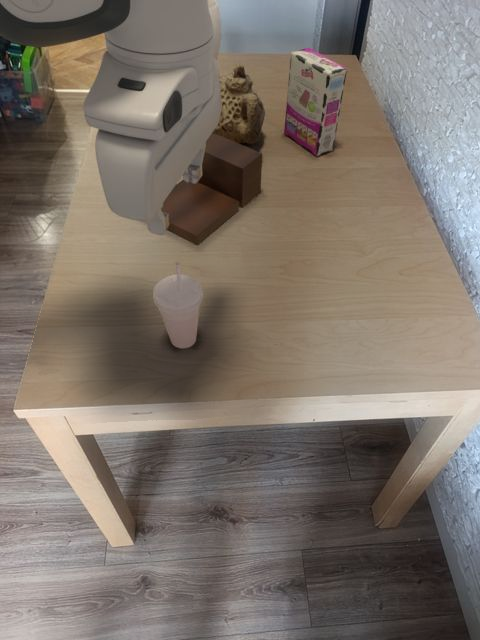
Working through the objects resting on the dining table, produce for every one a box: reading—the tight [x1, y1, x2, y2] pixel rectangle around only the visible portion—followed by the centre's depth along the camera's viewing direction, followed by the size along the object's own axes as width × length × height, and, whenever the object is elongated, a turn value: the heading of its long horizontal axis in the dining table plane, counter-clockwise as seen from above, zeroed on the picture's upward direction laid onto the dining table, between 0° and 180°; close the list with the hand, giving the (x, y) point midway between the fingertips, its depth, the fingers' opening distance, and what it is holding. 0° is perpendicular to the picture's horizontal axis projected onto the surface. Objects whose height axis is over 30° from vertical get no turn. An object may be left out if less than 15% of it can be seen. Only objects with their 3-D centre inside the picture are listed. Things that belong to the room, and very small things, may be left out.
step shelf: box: [161, 132, 263, 246], centre depth 88 cm, size 12×19×8 cm, turn 146°
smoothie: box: [152, 261, 204, 349], centre depth 67 cm, size 6×6×14 cm
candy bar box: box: [283, 47, 348, 157], centre depth 100 cm, size 11×5×16 cm, turn 37°
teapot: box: [213, 63, 266, 145], centre depth 99 cm, size 21×12×15 cm, turn 23°
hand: (177, 203), depth 54 cm, fingers open, 8 cm apart
